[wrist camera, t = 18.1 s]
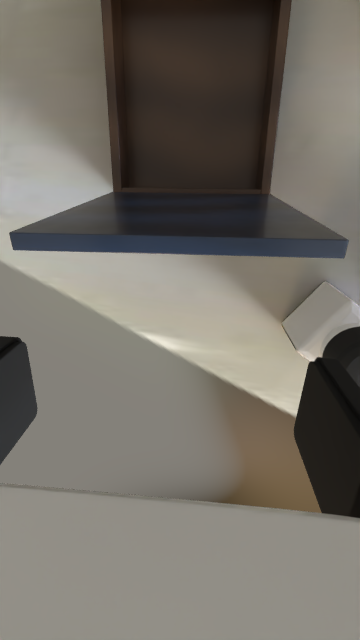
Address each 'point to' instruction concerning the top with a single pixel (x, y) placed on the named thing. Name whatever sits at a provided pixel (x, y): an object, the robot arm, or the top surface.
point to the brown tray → (194, 93)
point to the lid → (183, 227)
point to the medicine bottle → (327, 328)
